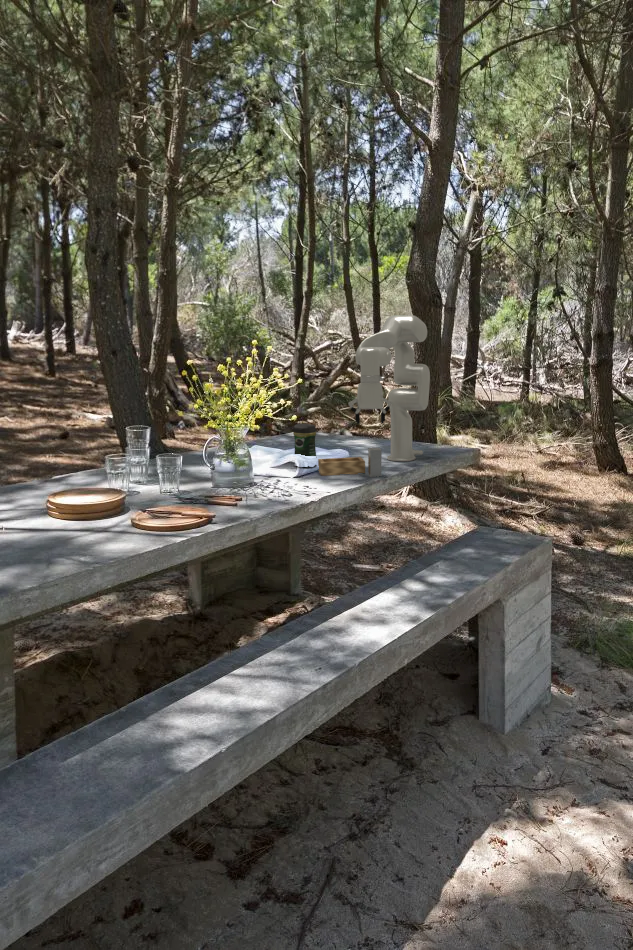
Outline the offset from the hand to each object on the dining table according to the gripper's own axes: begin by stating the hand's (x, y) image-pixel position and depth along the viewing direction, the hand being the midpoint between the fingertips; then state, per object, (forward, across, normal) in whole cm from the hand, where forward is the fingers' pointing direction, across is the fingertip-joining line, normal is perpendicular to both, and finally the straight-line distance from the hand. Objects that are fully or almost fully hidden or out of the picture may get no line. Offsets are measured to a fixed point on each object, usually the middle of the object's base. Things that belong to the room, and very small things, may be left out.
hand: (370, 423), depth 323 cm
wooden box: (+21, +11, -9) cm, 25 cm away
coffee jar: (+21, +25, -25) cm, 41 cm away
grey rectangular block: (+21, -2, 0) cm, 21 cm away
